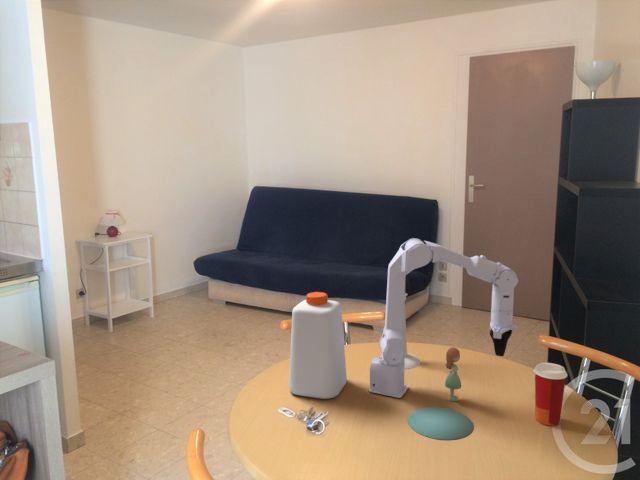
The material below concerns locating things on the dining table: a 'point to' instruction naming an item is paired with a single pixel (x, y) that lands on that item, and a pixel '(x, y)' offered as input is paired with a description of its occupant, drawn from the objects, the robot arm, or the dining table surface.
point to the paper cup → (549, 392)
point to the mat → (440, 423)
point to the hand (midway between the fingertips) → (499, 355)
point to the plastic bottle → (317, 348)
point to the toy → (452, 372)
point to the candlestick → (410, 359)
